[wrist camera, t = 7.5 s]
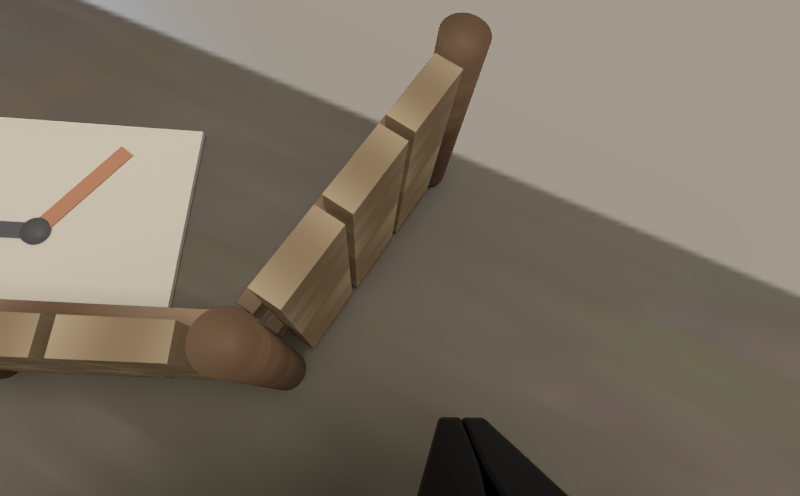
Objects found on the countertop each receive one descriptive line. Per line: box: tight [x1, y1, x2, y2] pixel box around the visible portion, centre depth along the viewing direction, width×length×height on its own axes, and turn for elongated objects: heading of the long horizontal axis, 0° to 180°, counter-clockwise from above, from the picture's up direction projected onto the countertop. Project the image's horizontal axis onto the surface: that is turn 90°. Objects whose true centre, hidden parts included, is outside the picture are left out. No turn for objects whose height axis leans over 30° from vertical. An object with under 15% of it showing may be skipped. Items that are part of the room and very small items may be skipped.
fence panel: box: [236, 13, 492, 348], centre depth 16 cm, size 11×2×8 cm, turn 147°
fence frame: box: [0, 299, 306, 390], centre depth 14 cm, size 12×2×9 cm, turn 88°
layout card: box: [0, 117, 205, 308], centre depth 20 cm, size 14×9×1 cm, turn 88°
